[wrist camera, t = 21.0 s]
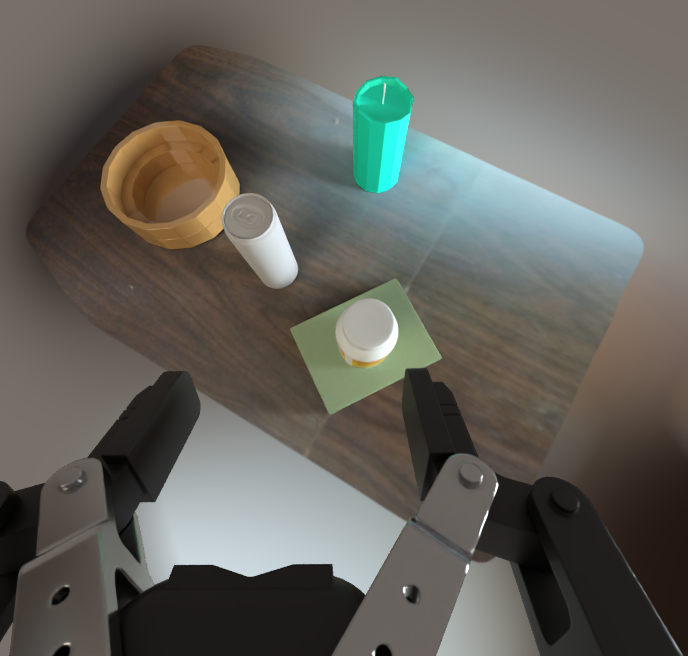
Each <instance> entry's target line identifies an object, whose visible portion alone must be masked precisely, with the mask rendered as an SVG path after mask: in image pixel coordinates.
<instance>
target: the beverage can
mask: <svg viewBox="0 0 688 656" xmlns="http://www.w3.org/2000/svg"><path fill="white" fill-rule="evenodd" d="M221 218H222V225H223V228H224V230H225V233H226V235H227V236H228V237H229V239H230V240H231V241H232V243H233V244H234V245H235V247H236V248H237V249H238V251H239V252H240V253H241V255H242V256H243V257H244V258H245V260H246V261H247V262H248V264H249V265H250V266H251V267H252V269H253V270H254V271H255V272H256V274H257V275H258V276H259V277H260V279H261V280H262V281H263V283H264V284H265V285H267V286H268V287H271V288H275V289H280V288H284V287H286V286H288V285H290V284H291V283H292V282H293V281H294V280H295V278H296V276H297V272H298V266H297V262H296V260H295V258H294V255H293V253H292V250H291V248H290V245H289V243H288V240H287V238H286V235H285V233H284V230H283V228H282V226H281V223H280V221H279V218H278V216H277V213H276V211H275V209H274V207H273V206H272V205H271V203H270V202H269V201H268V200H267V199H266V198H264V197H263V196H261V195H258V194H255V193H245V194H241V195H238V196H236V197H234V198H233V199H231V200H230V201H229V202H228V203H227V204H226V206H225V208H224V209H223V212H222V217H221Z"/></svg>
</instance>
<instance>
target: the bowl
mask: <svg viewBox="0 0 688 656" xmlns="http://www.w3.org/2000/svg"><path fill="white" fill-rule="evenodd" d="M100 188H101V192H102V194H103V197H104V200H105V203H106V206H107V208H108V209H109V210H110V211H111V212H112V213H113V214H114V215H115V216H116V217H117V218H118V219H120V220H121V221H122V222H123V223H124V224H125V225H127V226H128V227H129V228H130V229H132V230H133V231H134V232H136V233H137V234H138V235H139V236H141V237H142V238H143V239H145V240H146V241H147V242H148V243H151V244H154V245H157V246H160V247H164V248H167V249H181V248H192V247H195V246H197V245H199V244H201V243H204V242H206V241H208V240H210V239H213V238H214V237H215V236H216V235H217V234H219V233H220V232H221V231H222V230H223V229H224V228H223V225H222V218H221V217H222V212H223V209H224V208H225V206H226V204H227V203H228V202H229V201H230V200H231V199H233V198H234V197H236V196H238V195H239V189H240V184H239V181H238V179H237V177H236V175H235V172H234V170H233V168H232V166H231V164H230V162H229V160H228V159H227V157H226V155H225V153H224V151H223V149H222V147H221V145H220V143H219V141H218V140H217V138H215V137H214V136H213V135H212V134H210V133H209V132H208V131H206V130H205V129H204V128H203V127H201V126H198V125H195V124H191V123H187V122H184V121H179V120H178V121H165V122H156V123H153V124H150V125H148V126H146V127H143V128H141V129H138V130H136V131H134V132H132V133H131V134H130V135H128V136H127V137H126V138H125V139H124V140H122V141H121V142H120V143H119V144H118V145H116V146H115V148H114V149H113V151H112V153H111V154H110V156H109V158H108V159H107V161H106V163H105V165H104V167H103V171H102V179H101V187H100Z"/></svg>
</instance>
